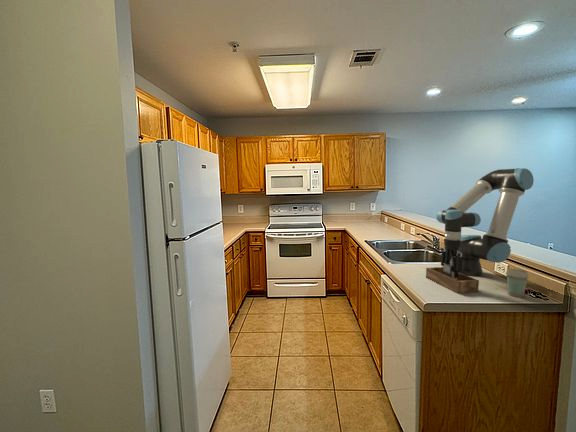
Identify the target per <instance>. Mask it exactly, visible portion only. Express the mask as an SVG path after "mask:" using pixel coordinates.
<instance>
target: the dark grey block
mask: <svg viewBox="0 0 576 432" xmlns="http://www.w3.org/2000/svg"><path fill="white" fill-rule="evenodd" d="M452 271H453V264H452V262H450V263H444V268H443V274H444V275H446V276H448V277H451V278H452ZM458 273H459V272H458ZM457 280H458V278H457Z"/></svg>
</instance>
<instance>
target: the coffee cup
mask: <svg viewBox="0 0 576 432" xmlns="http://www.w3.org/2000/svg"><path fill="white" fill-rule="evenodd" d="M505 274H506V281H507V282H506V283H507V284H506V285H507V286H506V287H507V294H508V295H509V296H511V297H515V298H523V297H524V295H525V291H526V287H527V284H528V283H527V282H528V278H530V276H529V273H528V271H526V270H523V269H518V268H508V269H507V270H506V273H505Z"/></svg>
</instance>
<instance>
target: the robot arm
mask: <svg viewBox="0 0 576 432" xmlns="http://www.w3.org/2000/svg"><path fill="white" fill-rule="evenodd" d="M533 185H534V175H533V173H532V172H531V171H530V170H529V169H528V168H525V167H524V168H522V167H521V168H518V167H517V168H506V169H503V168H501V169H496V170H492V171H490V172H489V173H487V174H484V175H483V176H482V177H480V178H479V179H478V180H477V181H476V182H475V185H474V186H473V187H471V188H470V189H469V190H468V191H467V192H465V193H464V194H463V195H462V196H461V197H459V198H458V200H456V201H455V202H454V203H453V204H452V205H450V206H449V207H448V208H447V209H446V210H444V209H443V210H439V211H437V214H436V217H435V218H436V220H437V221H438V223H440V224H444V238H445V239H444V240H443V245H444V246H445V247H441V248H440V250H441V254H440V255H441V257H440V259H441V260H440V267H444V263H452V264H453V271H452V278H453V279H455V280H457V278H458V272H459V273H461V274H464V275H466V276H469V277H471V276H473V277H474V276H475V277H476V276H477V277H478V276H482V275H483V273H484V272H483V270H484V269H482V264H481V261H480V260H484V261H488V262H491V263H497V264H499V263H500V264H501V263H503V262H505V261H507V259H508V258H509V257H510V255H511V252H512V249H511V245H510V244H509V240H508V239H507V235H508V231H509V230H510V229H509V228H510V226H511V222H512V220H513V217H514V214H515V211H516V208H517V205H518V202H519V199H520V197H521V196H523V195H525V192H526V191H527V190H530V189H531V188H532V187H533ZM495 190H496V191H498V192H499V193H500V195H499V196H498V200H497V203H496V206H495V209H494V213H493V215H492V217H491V221H490V224H489V227H488V231H487V233H485V234H483V235H482V236H481V235H480V234H464V235H463V234H462V228H470V227H471V228H473V227H474V228H475V227H478V226H479V225H480V224H481V219H482V218H481V215H480V214H478V213H476V212H467V211H468V210H469V209H470V208H471V207H472V206H474V205H475V204H476V203H477V202H478V201H479V200H481V199H482V198H484V196H485V195H488V194H490V193H491V192H493V191H495Z"/></svg>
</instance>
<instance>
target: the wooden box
mask: <svg viewBox="0 0 576 432" xmlns="http://www.w3.org/2000/svg"><path fill="white" fill-rule="evenodd" d="M443 268H444V267H443V266H436V267H426V268H425V270H426V271H425V278H426V279H427V278H428V279H427V280H429V279H430V280H429V281H431V280H432V282H433V281H434V282H433V283H435V282H436V283H435V284H437V285H440V286H442V287H443V288H446V289H447V290H450V291H452V292H454V293H455V294H457V295H459V294H470V293H471V294H472V293H479V285H480V284H479V283H480V280H479V279H476V278H473V277H471V276H470V275H464V274H461V273H458V280H455V279H453V278H451V277H448V276H446V275H444V274H443Z"/></svg>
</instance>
